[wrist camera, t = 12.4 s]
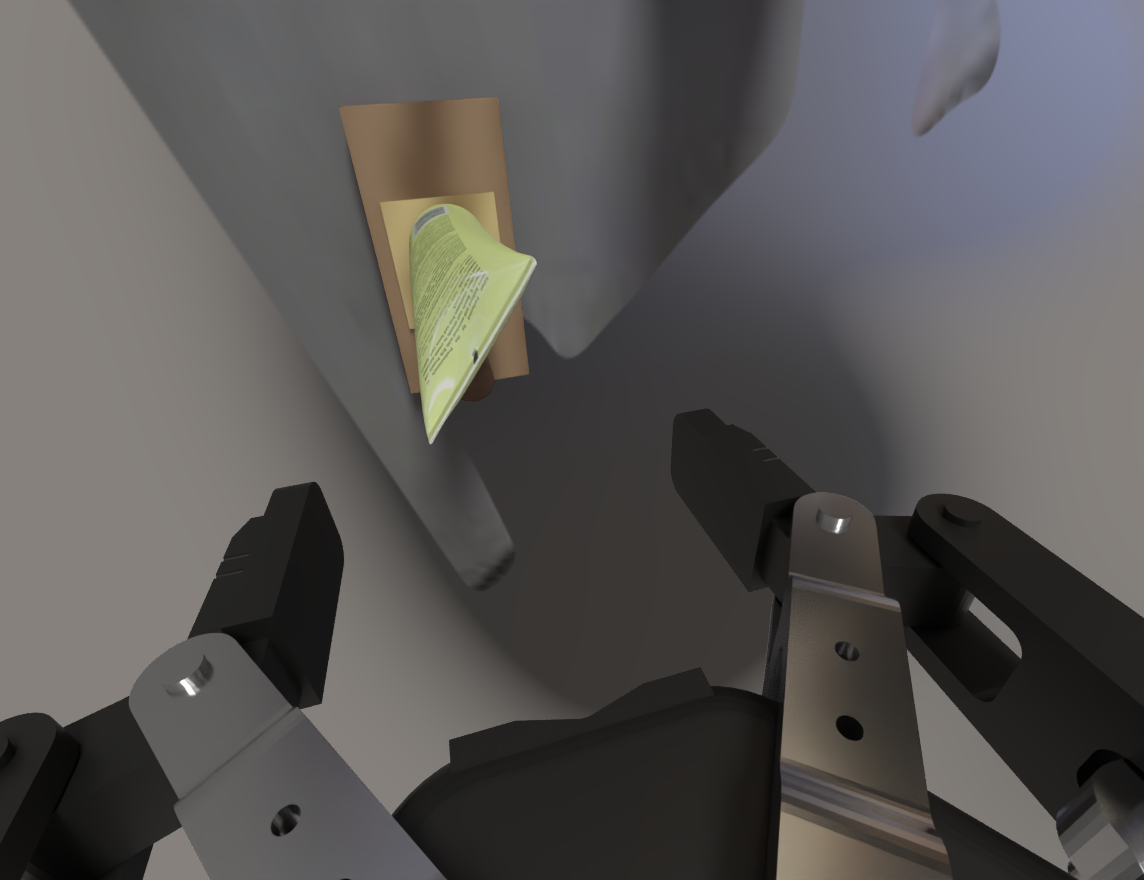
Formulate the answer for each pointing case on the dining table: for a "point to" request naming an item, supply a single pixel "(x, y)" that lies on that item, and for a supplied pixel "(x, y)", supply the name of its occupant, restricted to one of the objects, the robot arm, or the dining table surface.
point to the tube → (458, 302)
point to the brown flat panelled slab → (433, 203)
